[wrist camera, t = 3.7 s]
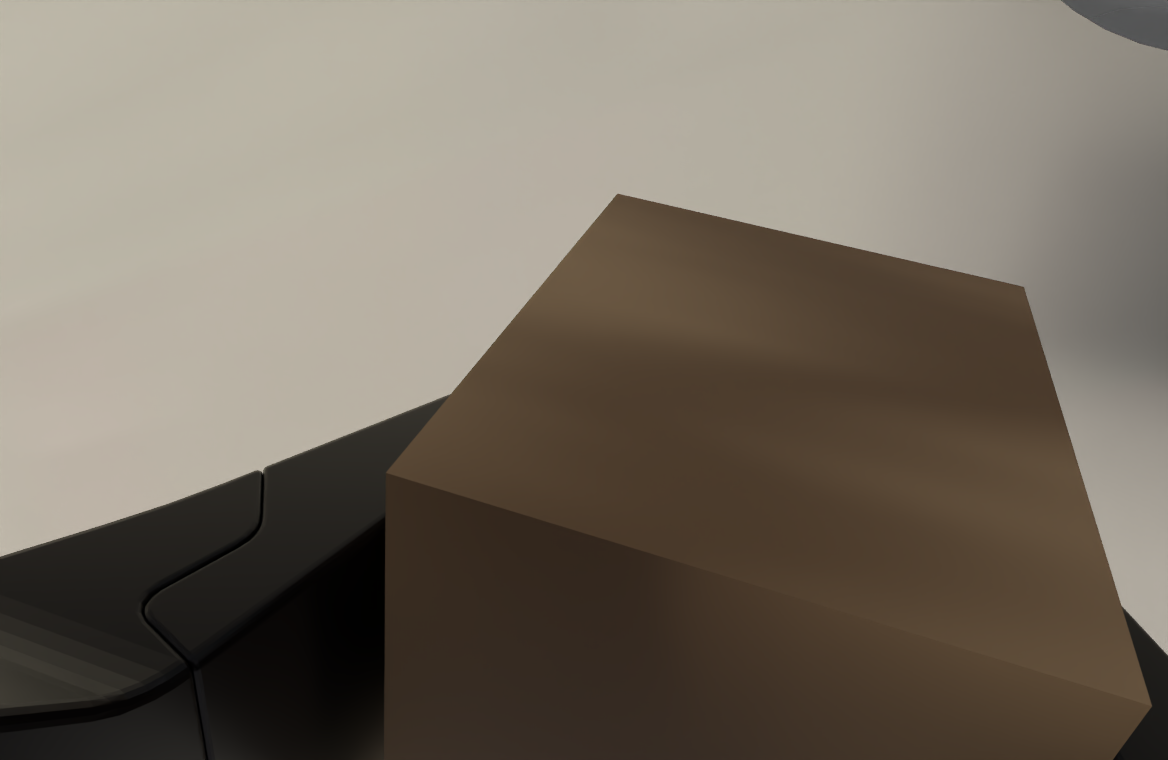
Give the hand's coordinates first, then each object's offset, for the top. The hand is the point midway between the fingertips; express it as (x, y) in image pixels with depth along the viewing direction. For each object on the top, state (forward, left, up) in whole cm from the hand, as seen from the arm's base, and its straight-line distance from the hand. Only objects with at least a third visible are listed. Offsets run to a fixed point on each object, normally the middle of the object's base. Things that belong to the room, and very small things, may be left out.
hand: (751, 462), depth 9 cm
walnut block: (0, 0, -1) cm, 1 cm away
